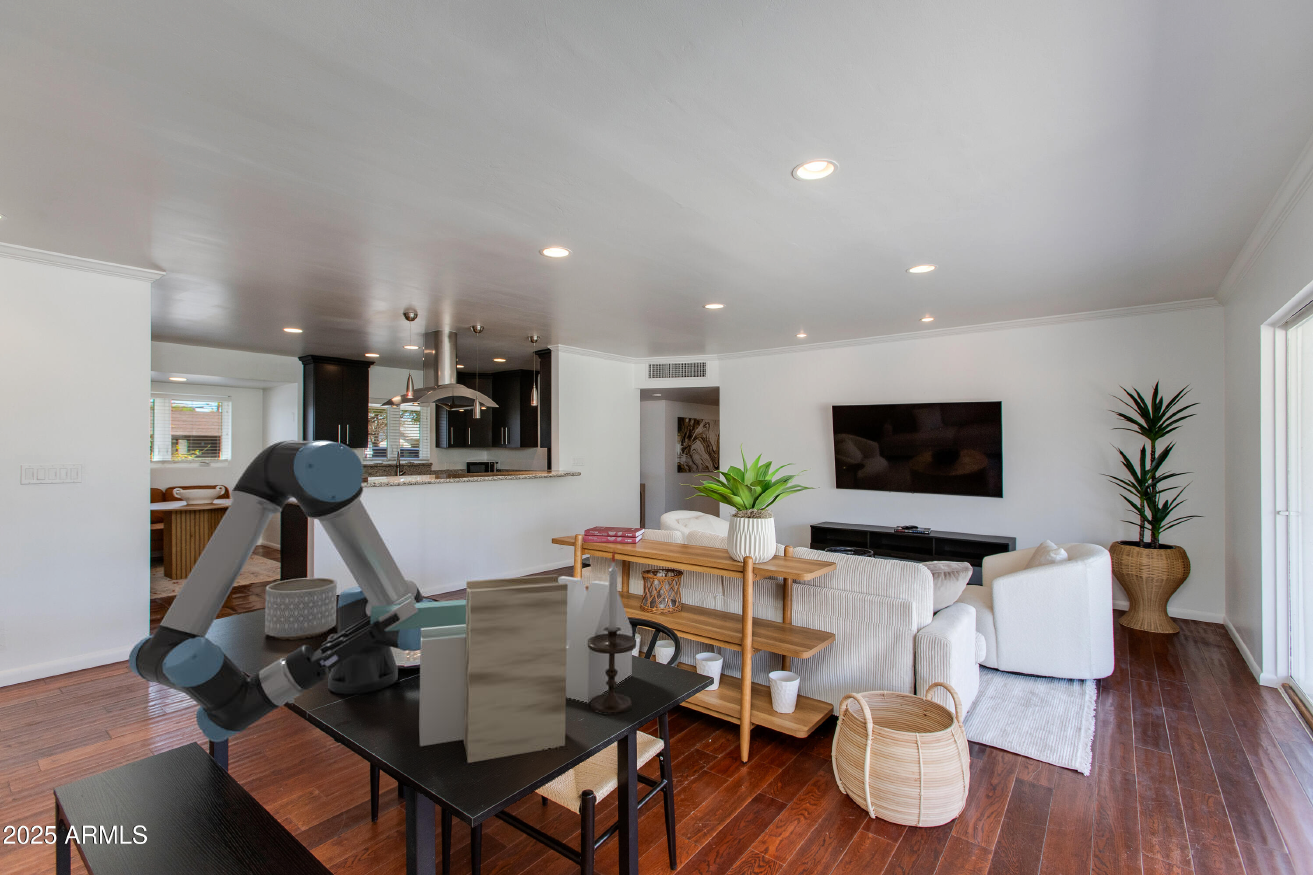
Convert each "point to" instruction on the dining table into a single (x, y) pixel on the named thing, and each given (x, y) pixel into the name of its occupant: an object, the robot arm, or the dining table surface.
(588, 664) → the white slotted block
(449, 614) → the bar
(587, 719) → the dining table surface
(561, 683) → the stand
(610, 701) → the candlestick
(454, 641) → the white lidded box
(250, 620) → the dining table surface
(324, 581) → the planter
